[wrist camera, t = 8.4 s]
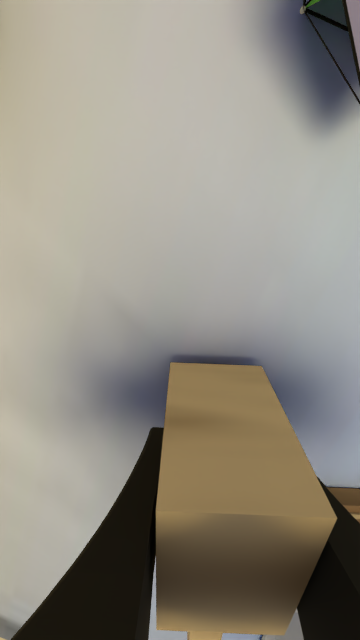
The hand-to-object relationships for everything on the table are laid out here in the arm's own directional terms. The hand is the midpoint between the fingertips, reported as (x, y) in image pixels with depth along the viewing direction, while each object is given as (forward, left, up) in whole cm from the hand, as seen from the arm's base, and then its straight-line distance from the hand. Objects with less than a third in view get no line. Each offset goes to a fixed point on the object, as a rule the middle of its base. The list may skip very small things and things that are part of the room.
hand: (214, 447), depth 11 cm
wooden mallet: (-4, 0, -2) cm, 4 cm away
